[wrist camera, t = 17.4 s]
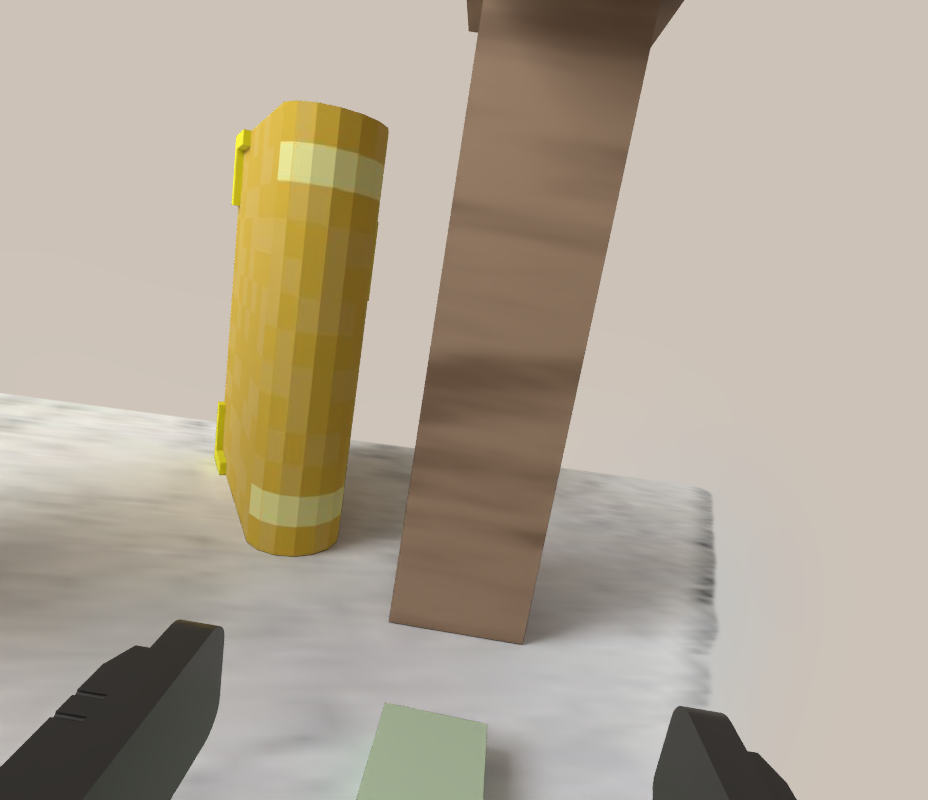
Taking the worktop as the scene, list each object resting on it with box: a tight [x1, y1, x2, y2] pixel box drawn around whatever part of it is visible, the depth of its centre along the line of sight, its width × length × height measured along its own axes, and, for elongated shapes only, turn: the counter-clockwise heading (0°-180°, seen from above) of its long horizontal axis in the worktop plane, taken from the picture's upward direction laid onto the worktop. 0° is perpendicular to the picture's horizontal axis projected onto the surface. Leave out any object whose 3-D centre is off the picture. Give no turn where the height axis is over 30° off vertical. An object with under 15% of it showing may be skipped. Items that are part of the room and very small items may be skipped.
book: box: [214, 101, 388, 556], centre depth 38 cm, size 17×7×25 cm, turn 29°
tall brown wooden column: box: [389, 0, 684, 644], centre depth 25 cm, size 12×9×39 cm
